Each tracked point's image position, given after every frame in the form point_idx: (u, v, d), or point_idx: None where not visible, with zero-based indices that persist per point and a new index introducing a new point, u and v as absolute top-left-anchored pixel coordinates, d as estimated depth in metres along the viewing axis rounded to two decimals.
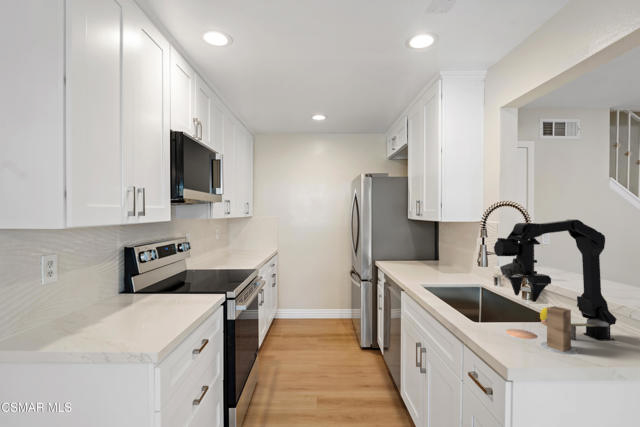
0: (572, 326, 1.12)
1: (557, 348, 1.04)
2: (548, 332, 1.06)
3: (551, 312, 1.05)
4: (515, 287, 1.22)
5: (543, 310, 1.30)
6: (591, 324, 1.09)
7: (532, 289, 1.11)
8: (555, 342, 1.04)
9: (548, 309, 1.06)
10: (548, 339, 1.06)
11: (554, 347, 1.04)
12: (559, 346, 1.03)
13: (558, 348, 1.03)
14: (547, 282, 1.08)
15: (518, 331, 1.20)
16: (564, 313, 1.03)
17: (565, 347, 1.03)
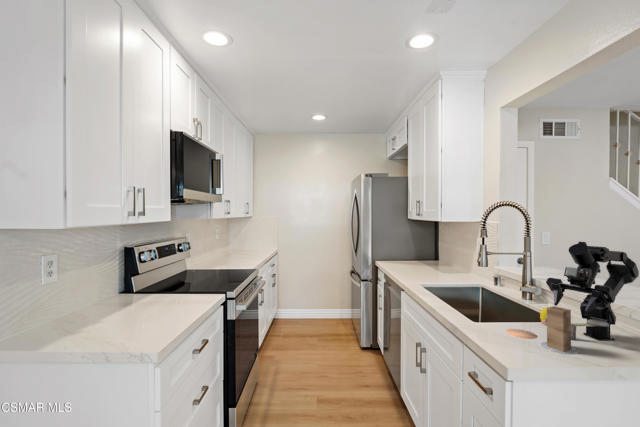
0: (572, 326, 1.12)
1: (557, 348, 1.04)
2: (548, 332, 1.06)
3: (551, 312, 1.05)
4: (557, 297, 1.14)
5: (543, 310, 1.30)
6: (591, 324, 1.09)
7: (593, 299, 1.05)
8: (555, 342, 1.04)
9: (548, 309, 1.06)
10: (548, 339, 1.06)
11: (554, 347, 1.04)
12: (559, 346, 1.03)
13: (558, 348, 1.03)
14: (613, 299, 1.04)
15: (518, 331, 1.20)
16: (564, 313, 1.03)
17: (565, 347, 1.03)
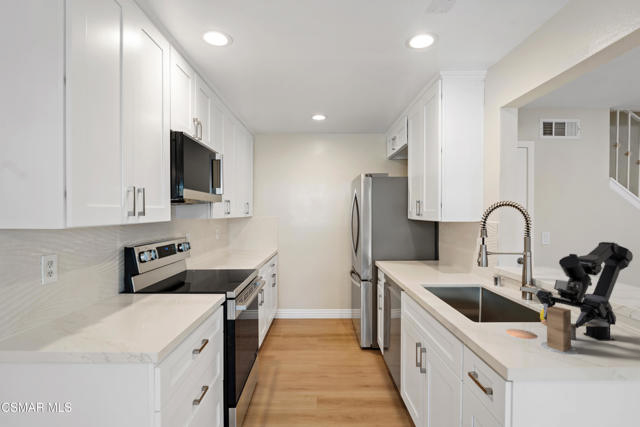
0: (572, 326, 1.12)
1: (557, 348, 1.04)
2: (548, 332, 1.06)
3: (551, 312, 1.05)
4: None
5: (543, 310, 1.30)
6: (591, 324, 1.09)
7: (584, 313, 1.02)
8: (555, 342, 1.04)
9: (548, 309, 1.06)
10: (548, 339, 1.06)
11: (554, 347, 1.04)
12: (559, 346, 1.03)
13: (558, 348, 1.03)
14: (603, 314, 1.01)
15: (518, 331, 1.20)
16: (564, 313, 1.03)
17: (565, 347, 1.03)
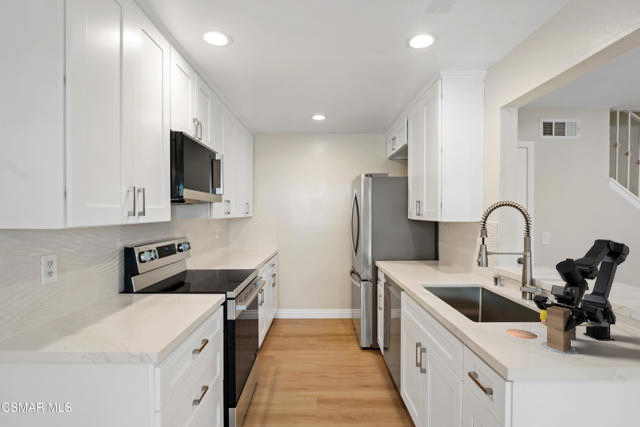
0: None
1: (557, 348, 1.04)
2: (548, 332, 1.06)
3: (551, 312, 1.05)
4: None
5: (543, 310, 1.30)
6: (591, 324, 1.09)
7: (573, 317, 1.02)
8: (555, 342, 1.04)
9: (548, 309, 1.06)
10: (548, 339, 1.06)
11: (554, 347, 1.04)
12: (559, 346, 1.03)
13: (558, 348, 1.03)
14: (600, 319, 1.00)
15: (518, 331, 1.20)
16: (564, 313, 1.03)
17: (565, 347, 1.03)
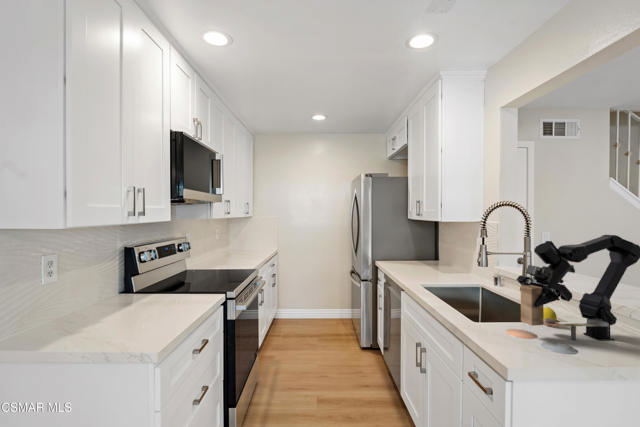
0: (572, 326, 1.12)
1: (527, 322, 1.12)
2: (521, 308, 1.15)
3: (523, 290, 1.14)
4: None
5: (543, 310, 1.30)
6: (591, 324, 1.09)
7: (543, 294, 1.10)
8: (526, 317, 1.13)
9: (521, 287, 1.15)
10: (521, 314, 1.15)
11: (525, 321, 1.13)
12: (529, 320, 1.12)
13: (528, 322, 1.12)
14: (568, 297, 1.05)
15: (518, 331, 1.20)
16: (533, 290, 1.11)
17: (535, 322, 1.11)
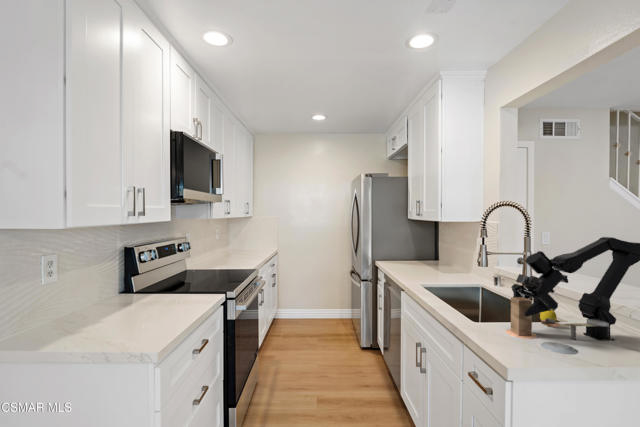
0: (572, 326, 1.12)
1: (515, 332, 1.17)
2: (511, 318, 1.20)
3: (513, 301, 1.19)
4: None
5: None
6: (591, 324, 1.09)
7: (533, 304, 1.12)
8: (514, 327, 1.18)
9: (511, 298, 1.20)
10: (511, 325, 1.20)
11: (514, 332, 1.18)
12: (517, 330, 1.17)
13: (516, 332, 1.17)
14: (552, 306, 1.09)
15: None
16: (521, 302, 1.16)
17: (522, 333, 1.16)
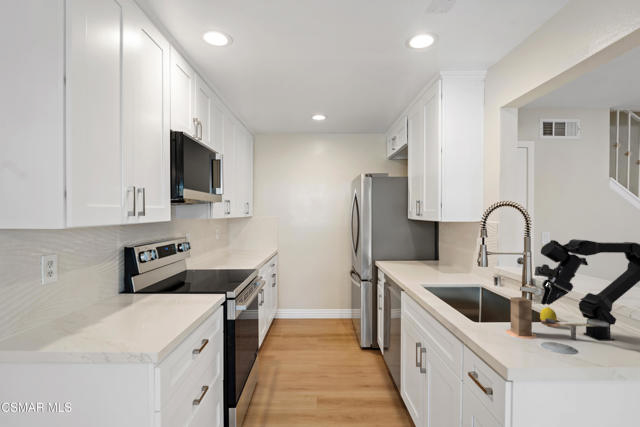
0: (572, 326, 1.12)
1: (515, 332, 1.17)
2: (511, 318, 1.20)
3: (512, 301, 1.19)
4: (545, 296, 1.23)
5: (543, 310, 1.30)
6: (591, 324, 1.09)
7: (550, 291, 1.14)
8: (514, 327, 1.18)
9: (511, 298, 1.20)
10: (511, 325, 1.20)
11: (514, 332, 1.18)
12: (517, 330, 1.17)
13: (516, 332, 1.17)
14: (566, 287, 1.10)
15: None
16: (521, 302, 1.16)
17: (522, 333, 1.16)
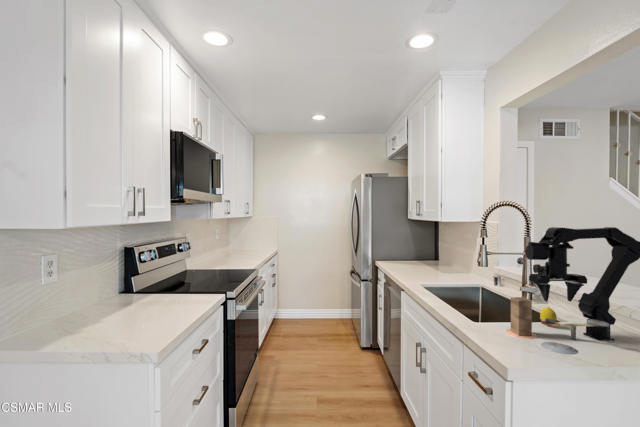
0: (572, 326, 1.12)
1: (515, 332, 1.17)
2: (511, 318, 1.20)
3: (512, 301, 1.19)
4: (568, 292, 1.21)
5: (543, 310, 1.30)
6: (591, 324, 1.09)
7: None
8: (514, 327, 1.18)
9: (511, 298, 1.20)
10: (511, 325, 1.20)
11: (514, 332, 1.18)
12: (516, 330, 1.17)
13: (516, 332, 1.17)
14: (536, 281, 1.18)
15: None
16: (521, 302, 1.16)
17: (522, 333, 1.16)
